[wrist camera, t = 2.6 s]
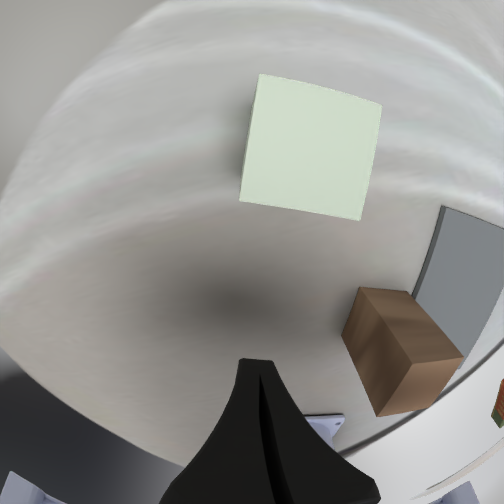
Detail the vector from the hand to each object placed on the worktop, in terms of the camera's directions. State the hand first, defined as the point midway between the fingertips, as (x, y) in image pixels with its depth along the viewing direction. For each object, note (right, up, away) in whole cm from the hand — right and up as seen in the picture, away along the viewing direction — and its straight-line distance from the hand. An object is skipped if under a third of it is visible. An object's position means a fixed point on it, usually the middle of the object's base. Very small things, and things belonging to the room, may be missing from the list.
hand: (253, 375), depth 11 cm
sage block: (+2, +10, +2) cm, 11 cm away
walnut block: (+8, +1, +6) cm, 10 cm away
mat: (+16, +1, +6) cm, 17 cm away
